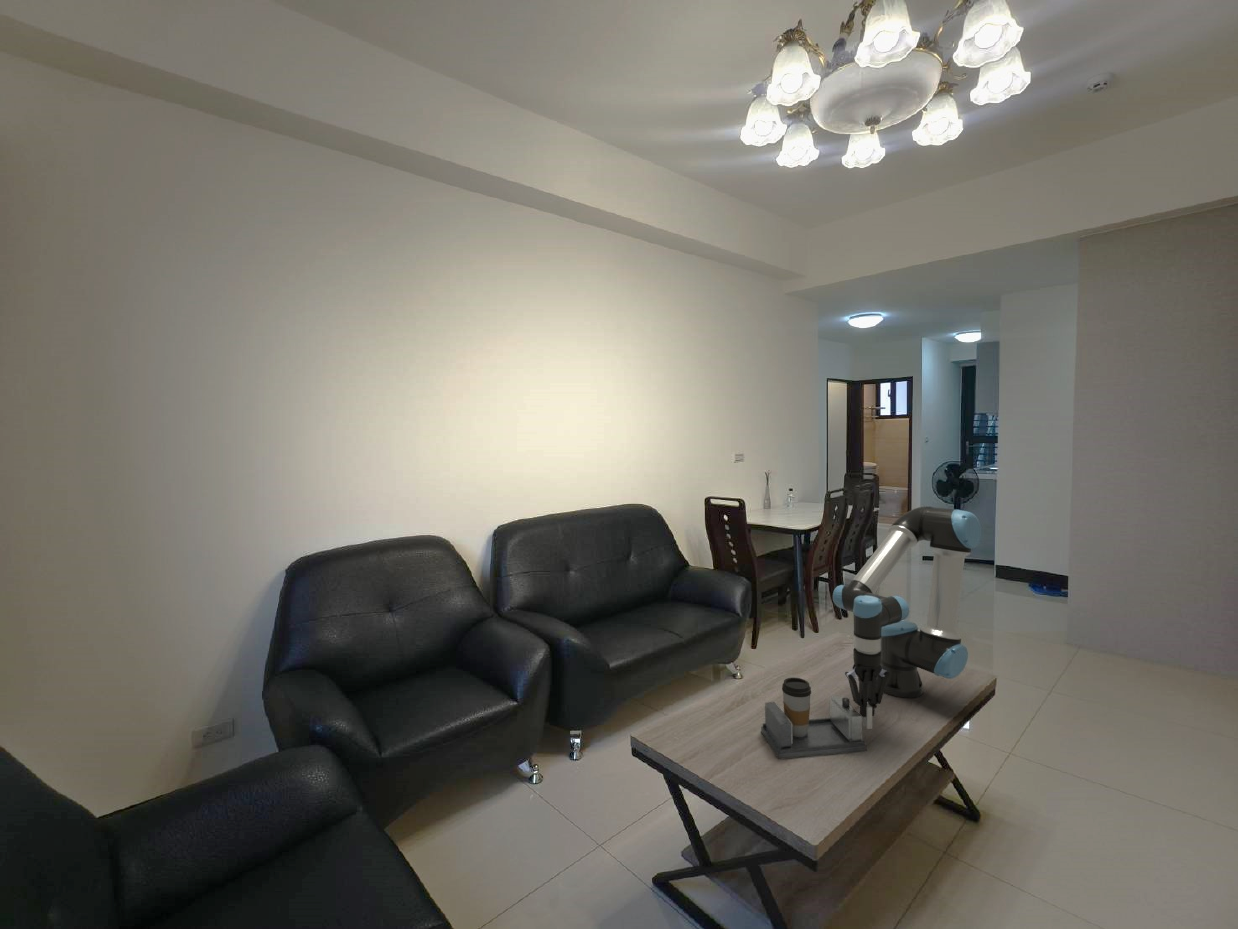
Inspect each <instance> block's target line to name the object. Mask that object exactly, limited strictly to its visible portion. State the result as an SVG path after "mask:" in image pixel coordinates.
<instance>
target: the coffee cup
mask: <svg viewBox="0 0 1238 929" xmlns="http://www.w3.org/2000/svg"><path fill="white" fill-rule="evenodd" d="M781 686H782V687H781V690H782V696H783V697H782V700H783V712H784V714H785V715H786V716H787V718H788V719H789V720H790V721H791V723H792V736H795V737H803V736H805V735H806V734H807V733H808V723H809V719H810V709H811V694H812V688H811V686H810V683H809V682H808V681H807V680H806V679H803V678H800V677H788V678H785V679H784V680H783V683H782V685H781Z"/></svg>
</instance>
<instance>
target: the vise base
mask: <svg viewBox="0 0 1238 929" xmlns="http://www.w3.org/2000/svg"><path fill="white" fill-rule="evenodd" d="M764 711H765V712H764V717H765V718H764V720H765V721H764V722H765V723H762V726H760V732H761V733H762V735H763V737H764V738H765V739H766V741H767V743H768V744H769V745H770V748H771V749H772V750H773V752H774V753H775V755H776V756H777V758H778V760H782V759H783V760H784V759H795V758H802V757H803V758H804V757H815V756H817V757H818V756H826V755H836V754H847V753H857V752H859V753H860V752H867V751H868V745H867V744H866V741H864V740H862V741H860V742H850V741H849V740H848V739H847V738H846V737H845V736H844V735H843V734H842V733H841V732H840V730H839V729H838V728H837V727H836V726H835V725H834V724H833V723H832V722H831V720H830V717H823V718H822V717H821V718H812V719H810V718H809V723H808V733H807V734H806V735H805V736H803V737H795V736H792V723H791V721H790V720H789V719H788V718H787V716H786V715H785V714H784V710H782V708H780V706H779V705H778V704H777V703H776V702H775V701H772V702H770V701H768V702H765V703H764Z"/></svg>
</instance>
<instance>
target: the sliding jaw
mask: <svg viewBox="0 0 1238 929" xmlns="http://www.w3.org/2000/svg"><path fill="white" fill-rule="evenodd" d="M850 700H851V699H850V698H848V697H843V696H842V695H832V696H830V699H829V718H830V720H831V722H832V723H833V724H834V725H835V726H836V727H837V728H838V729H839V730H840V732H841V733H842V734H843V735H844V736H845V737H846V738H847V739H848V740H849V741H850V742H860V741H863V735H862V734H863V728H862V727H863V724H862V716H861V714H860V712H858V711H857V709H856V708H854V707H853V706H852V705H851V704H850Z"/></svg>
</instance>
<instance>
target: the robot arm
mask: <svg viewBox="0 0 1238 929" xmlns="http://www.w3.org/2000/svg"><path fill="white" fill-rule="evenodd" d="M981 540H982V526H981V523H980V521H979V519H978V517H977V516H976V515H975V514H974V513H973V512H971V511H967V510H961V509H952V508H944V507H934V506H925V505H924V506H918V507H917V508H916V507H915V508H913V509H911V510H908V511H907V512H905V513H904V514H902V515H901V516H900V517H898V518H897V519H896V520H895V521H894V522H893V523H892V524H891V525H890V527H889V528H888V535H887V536H886V537H885V538H884V540H882V542H881V543H880V544H879V546H878V547H877V548H876V550H874V552H873V553H872V555H871V556H870V557H869V559H868V560H867V561H866V562H865V564H864V565H863V566H862V567H861V569H860V570H859V571H858V572H857V574H855V576H854V577H853V579H852V580H851V581H850V582H849V583H848V584H847V585H845V584H840V585H837V586H836V587H835V588H834V590H833V591H832V592H833V593H832V601H833V604H834V605H835V606H836V607H837V608H839V609H843V610H845V611H847V612H851V613H853V616H852V617H853V649H852V650H853V665H852V669H851V670H850V671H846V672H845V673H844V675H845V677H846V678H847V679H848V684H849V687H850V688H849V689H850V691H851V696H852V700H853V702H854V703H855V704H856V705H857V706H858V707H859V714H860V715H861V716H862V726H864V727H865V728H866V729H867V730H870V729H873V717H875V709H876V708H877V707H878V705H881V704H882V700H883V697H884V694H887V695H890V696H895V697H898V698H917V697H920V696H921V695H922V694H923V693H924V685H923V681H922V679H921V675H920V672H919V670H918V668H919V669H921V670H923V671H927V672H929V673H931V674H933V675H935V676H937V677H939V676H940V677H942V678H945V679H955V678H958V676H960V674H961V673H962V672H963V671H964V669H965V668H966V667H967V666H966V665H967V662H968V658H969V652H968V648H967V647H966V646H965V645H964V644H961V643H962V636H961V635H960V634H959V632H958V631H957V628H958V621H959V619H958V618H959V612H960V611H959V609H960V602H961V596H962V594H961V592H962V584H963V577H964V576H963V575H964V566H965V559H966V557H968V556H969V555H971V553H972V549H976V548H977V547H978V546H979V545H980V542H981ZM921 541H927V542H929V548H930V550H931V551H933V562H932V570H931V576H930V577H931V578H930V588H929V595H928V605H927V611H926V612H927V614H926V622H925V625H923V626H921V627H920V629H919V627H918V625H917V624H916V623H915V622H912V621H908V620H906V619H907V618H908V616H909V615H910V607H909V604H908V603H907V601H906V600H905V598H903V597H901V596H899V595H898V596H897V595H893V596H892V595H889V596H888V597H887V596H883V595H879V594H876V592H877V590H878V589H879V588H880V586H881V585H882V584H883V582H884V581H885V580H886V579H887V577H888V576H889V575H890V573H891V572H892V571H893V570H894V568H895V567H896V566H897V564H898V563H899V562H900V560H901V559H902V558H903V556H905V554H906V553H907V551H908V550H909V549H910V548H913V547H915V546H916V545H917V544H918V543H919V542H921ZM856 676H857V677H856ZM856 679H857V680H858V683H857V681H856Z"/></svg>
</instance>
